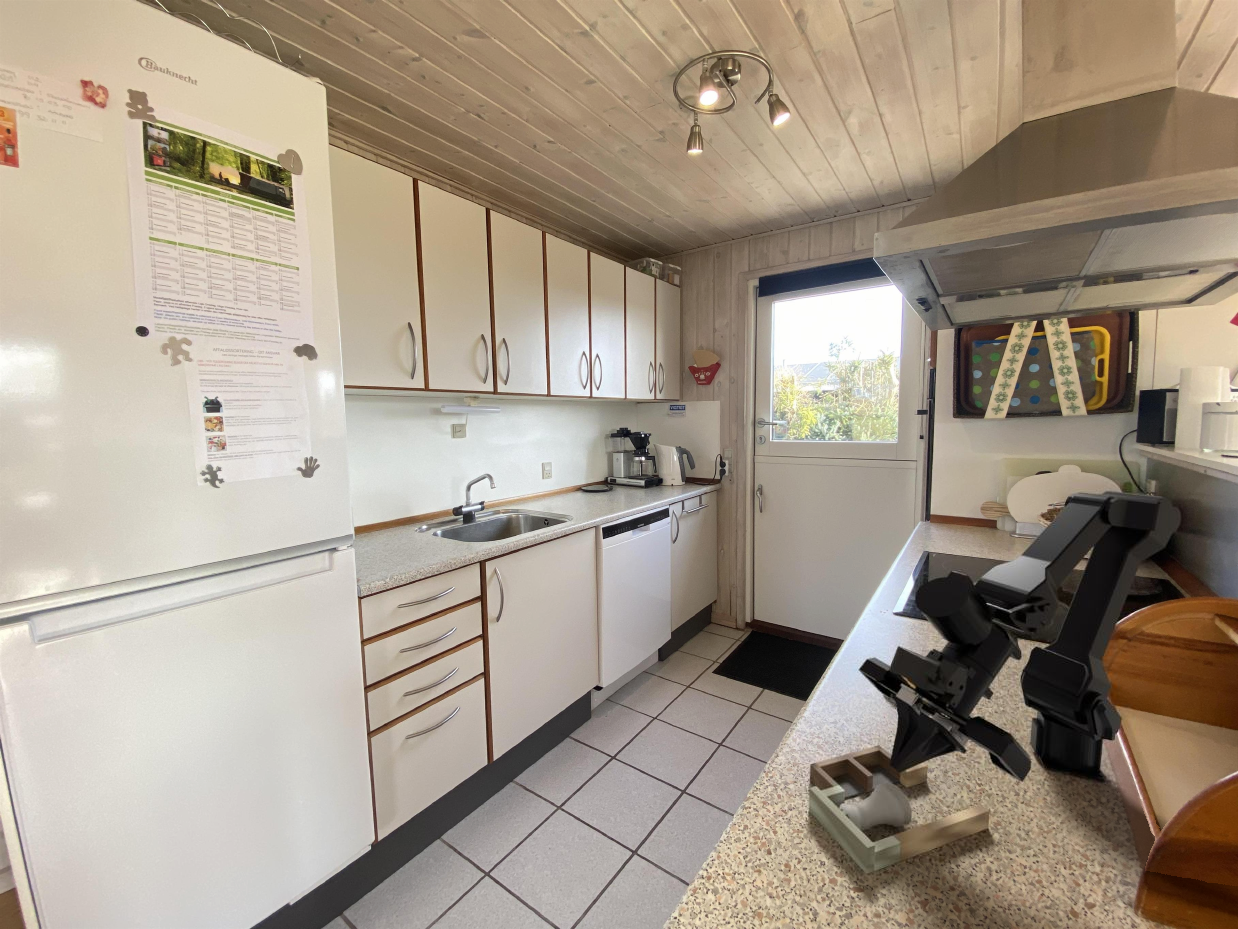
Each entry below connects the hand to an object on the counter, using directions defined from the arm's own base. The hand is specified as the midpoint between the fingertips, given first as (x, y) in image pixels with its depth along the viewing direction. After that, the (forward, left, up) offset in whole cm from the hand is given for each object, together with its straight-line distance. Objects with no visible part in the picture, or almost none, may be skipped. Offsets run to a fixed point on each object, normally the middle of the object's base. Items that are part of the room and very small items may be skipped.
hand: (894, 769), depth 59 cm
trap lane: (+1, -2, -7) cm, 7 cm away
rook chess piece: (-1, -1, -4) cm, 4 cm away
